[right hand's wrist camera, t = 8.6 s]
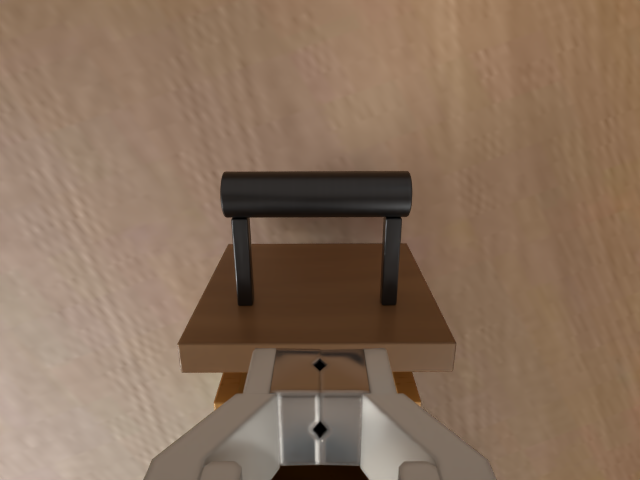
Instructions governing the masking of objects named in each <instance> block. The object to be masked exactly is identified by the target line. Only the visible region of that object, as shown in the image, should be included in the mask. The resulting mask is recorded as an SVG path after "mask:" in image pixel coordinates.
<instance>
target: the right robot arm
mask: <svg viewBox="0 0 640 480" xmlns="http://www.w3.org/2000/svg"><path fill="white" fill-rule="evenodd" d="M290 465H349V466H360V468H361V469H362V471H363V472H364V473H365V475H366V476H367V477H368V479H369V480H497V479H496V477H495V475H494V472H493V470H492V468H491V465H490V463H489V461H488V459H486V458H485V457H484V456H482V455H481V454H480V453H479V452H477V451H476V450H475V449H474V448H472V447H471V446H470V445H468V444H467V443H466V442H465V441H463V440H462V439H461V438H460V437H458V436H457V435H456V434H454V433H453V432H452V431H451V430H449V429H448V428H447V427H446V426H444V425H443V424H442V423H440V422H439V421H438V420H437V419H435V418H434V417H433V416H432V415H430V414H429V413H428V412H426V411H425V410H424V409H423V408H421V407H420V406H419V405H418V404H416V403H415V402H414V401H413V400H411V399H410V398H409V397H407V396H406V395H405V394H399V393H397V391H396V386H395V382H394V378H393V374H392V370H391V366H390V362H389V358H388V354H387V350H386V349H385V348H367V349H337V350H320V349H287V348H277V349H276V348H255V349H254V351H253V353H252V357H251V362H250V366H249V370H248V374H247V378H246V382H245V386H244V390H243V393H242V394H235V395H234V396H233V397H231V398H230V399H229V400H227V401H226V402H225V403H224V404H222V405H221V406H220V407H219V408H217V409H216V410H215V411H213V412H212V413H211V414H210V415H208V416H207V417H206V418H204V419H203V420H202V421H201V422H199V423H198V424H197V425H196V426H194V427H193V428H192V429H190V430H189V431H188V432H187V433H185V434H184V435H183V436H181V437H180V438H179V439H178V440H176V441H175V442H174V443H173V444H171V445H170V446H169V447H167V448H166V449H165V450H164V451H162V452H161V453H160V454H158V455H157V456H156V457H155V458H153V459H152V461H151V464H150V466H149V468H148V471H147V473H146V475H145V477H144V480H271V479H272V478H273V476H274V475H275V474H276V472H277V471H278V470H279V468H280V466H290Z"/></svg>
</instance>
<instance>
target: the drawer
mask: <svg viewBox="0 0 640 480" xmlns="http://www.w3.org/2000/svg"><path fill="white" fill-rule="evenodd" d="M220 195H221V206H222V211H223V214H224V216H225V217H233V218H232V220H231V224H232V237H233V244H228V246H227V248H226V250H225V252H224V254H223V256H222V258H221V260H220V262H219V264H218V266H217V268H216V270H215V272H214V274H213V276H212V278H211V279H210V281H209V283H208V285H207V287H206V289H205V291H204V293H203V295H202V297H201V299H200V301H199V303H198V305H197V307H196V309H195V311H194V313H193V315H192V317H191V319H190V320H189V322H188V324H187V326H186V328H185V330H184V332H183V334H182V336H181V338H180V340H179V342H178V344H177V345H178V352H179V360H180V367H181V372H182V373H208V372H223V375H222V378H221V381H220V384H219V387H218V391H217V394H216V397H215V400H214V411H215V410H216V409H217V408H219V407H220V406H221V405H222V404H224V403H225V402H226V401H227V400H229V399H230V398H231V397H233V396H234V395H235V394H242V393H243V390H244V386H245V382H246V378H247V374H248V370H249V366H250V362H251V357H252V353H253V351H254V349H255V348H276V349H277V348H287V349H320V350H337V349H367V348H385V349H386V350H387V354H388V358H389V362H390V366H391V370H392V374H393V378H394V382H395V386H396V391H397V393H399V394H405V395H406V396H407V397H409V398H410V399H411V400H413V401H414V402H415V403H416V404H418V405H419V406H420V407H421V400H420V396H419V393H418V390H417V387H416V383H415V380H414V377H413V374H412V372H451V371H453V366H454V358H455V349H456V342H455V340H454V338H453V336H452V334H451V332H450V330H449V328H448V326H447V324H446V322H445V319H444V317H443V315H442V313H441V311H440V309H439V307H438V305H437V303H436V301H435V299H434V297H433V295H432V293H431V291H430V289H429V287H428V285H427V283H426V281H425V279H424V277H423V275H422V273H421V271H420V269H419V267H418V265H417V263H416V261H415V259H414V257H413V255H412V253H411V251H410V249H409V247H408V245H407V244H400V242H401V227H402V218H401V217H407V216H408V215H409V213H410V210H411V205H412V181H411V176H410V173H409V172H408V171H301V172H224V173H223V175H222V179H221V189H220ZM250 217H384V222H383V242H382V244H251V232H250ZM271 480H369V479H368V477H367V476H366V475H365V473H364V472H363V471H362V469H361V468H360V466H349V465H290V466H280V468H279V470H278V471H277V472H276V474H275V475H274V476H273V478H272V479H271Z"/></svg>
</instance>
